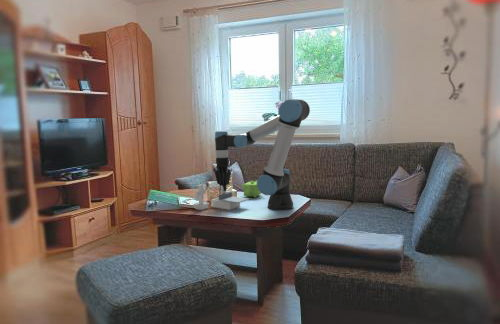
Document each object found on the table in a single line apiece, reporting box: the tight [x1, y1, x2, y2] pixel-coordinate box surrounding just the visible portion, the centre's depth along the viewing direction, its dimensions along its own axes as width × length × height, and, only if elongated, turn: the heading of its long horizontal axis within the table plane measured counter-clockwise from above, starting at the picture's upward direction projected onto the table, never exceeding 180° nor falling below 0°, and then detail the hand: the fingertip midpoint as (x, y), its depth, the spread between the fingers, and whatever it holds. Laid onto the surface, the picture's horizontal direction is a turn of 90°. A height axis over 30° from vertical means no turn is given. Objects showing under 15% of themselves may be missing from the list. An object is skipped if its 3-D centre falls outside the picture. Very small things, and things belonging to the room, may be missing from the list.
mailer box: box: [210, 197, 241, 210], centre depth 219 cm, size 14×10×5 cm
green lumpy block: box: [241, 180, 262, 198], centre depth 249 cm, size 15×13×11 cm
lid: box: [218, 191, 250, 204], centre depth 215 cm, size 14×11×3 cm
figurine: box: [192, 184, 211, 211], centre depth 215 cm, size 7×9×15 cm
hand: (223, 196), depth 219 cm, fingers closed
